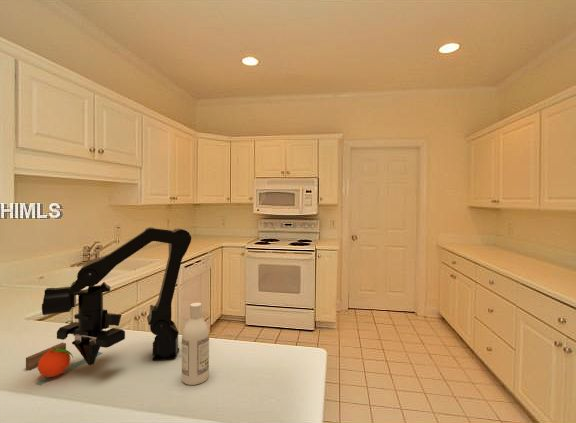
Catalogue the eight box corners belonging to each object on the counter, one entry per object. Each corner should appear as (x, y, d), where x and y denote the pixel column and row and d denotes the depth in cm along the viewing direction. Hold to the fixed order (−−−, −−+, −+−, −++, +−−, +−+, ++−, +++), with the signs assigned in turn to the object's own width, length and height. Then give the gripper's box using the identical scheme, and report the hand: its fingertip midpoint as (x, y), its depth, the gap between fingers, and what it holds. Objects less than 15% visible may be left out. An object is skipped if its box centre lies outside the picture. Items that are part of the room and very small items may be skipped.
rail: (66, 354, 92) (66, 343, 92) (29, 371, 83) (29, 358, 83) (62, 353, 93) (62, 342, 93) (25, 370, 83) (25, 357, 83)
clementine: (79, 367, 85) (80, 342, 84) (66, 381, 78) (66, 354, 78) (47, 368, 83) (48, 343, 83) (31, 383, 76) (31, 356, 76)
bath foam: (210, 370, 84) (211, 299, 83) (206, 385, 77) (206, 308, 76) (185, 371, 83) (185, 300, 83) (178, 386, 76) (179, 308, 76)
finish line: (102, 353, 93) (102, 352, 93) (40, 386, 76) (40, 385, 76) (97, 352, 94) (97, 351, 94) (34, 384, 76) (34, 383, 76)
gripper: (140, 303, 87) (140, 355, 88) (92, 297, 93) (92, 346, 93) (107, 316, 77) (107, 376, 77) (55, 308, 82) (55, 364, 83)
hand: (91, 364), depth 83 cm, fingers closed
